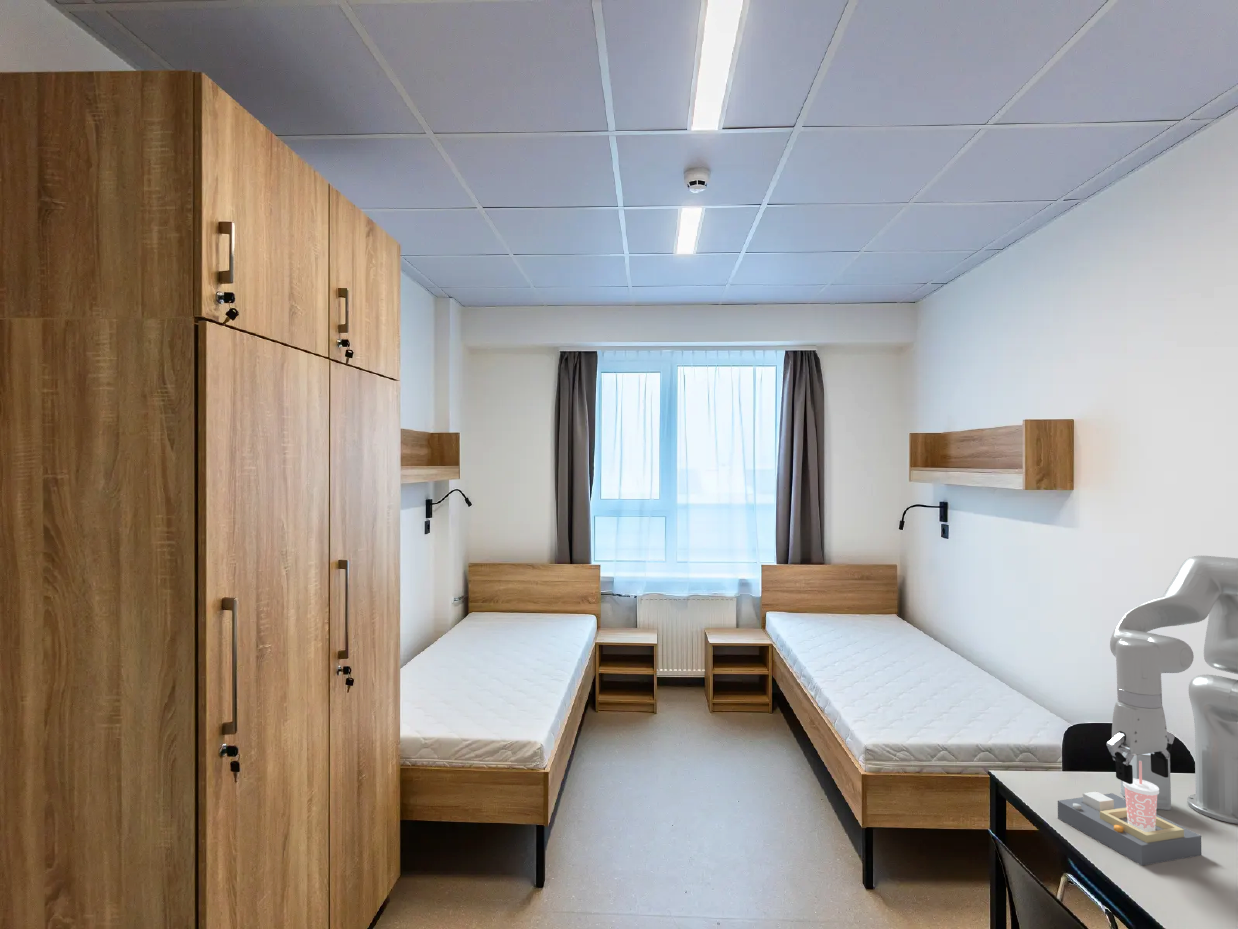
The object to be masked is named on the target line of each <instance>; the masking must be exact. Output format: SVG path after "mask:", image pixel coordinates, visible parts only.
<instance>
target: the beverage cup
mask: <svg viewBox="0 0 1238 929" xmlns="http://www.w3.org/2000/svg"><path fill="white" fill-rule="evenodd" d="M1123 786H1124V787H1125V796H1124V797H1125V800H1126V808H1127V820H1128V824H1130V825H1132V826H1134V827H1136V828H1138V829H1140V830H1142V831H1144V832H1150V831H1155V825H1156V814H1157V810H1158V809H1157V795H1158V794H1159V788H1158V787H1157V786H1156V785H1154V784H1153V783H1150V782H1148V781H1145V780H1142V761H1139V779H1135V778H1133V784H1128V783H1126V782H1124V781H1123Z"/></svg>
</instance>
